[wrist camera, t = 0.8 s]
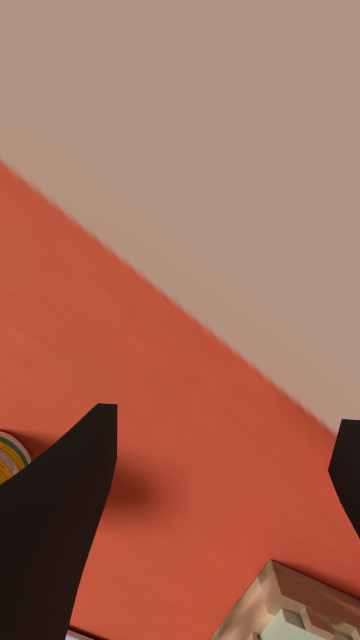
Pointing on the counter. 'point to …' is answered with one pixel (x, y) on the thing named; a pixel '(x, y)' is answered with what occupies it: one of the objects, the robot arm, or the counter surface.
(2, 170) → the counter surface
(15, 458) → the supplement bottle
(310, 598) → the box
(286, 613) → the lid
